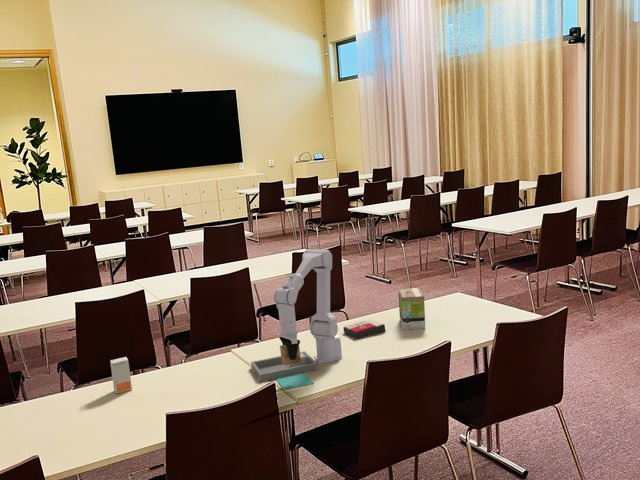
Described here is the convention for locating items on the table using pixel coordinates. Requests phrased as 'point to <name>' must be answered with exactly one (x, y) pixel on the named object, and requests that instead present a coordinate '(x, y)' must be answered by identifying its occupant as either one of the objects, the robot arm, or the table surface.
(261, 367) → the parts bin
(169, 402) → the table surface
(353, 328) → the black and red box
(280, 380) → the mat
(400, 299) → the tea box
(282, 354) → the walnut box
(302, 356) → the grey box
